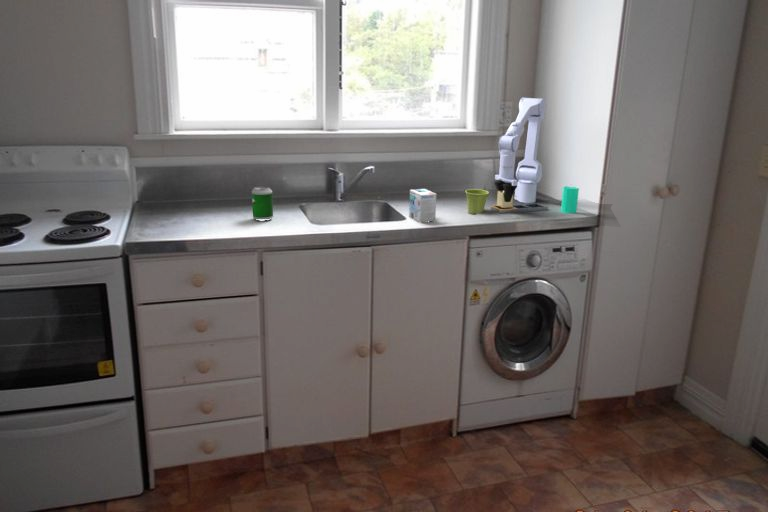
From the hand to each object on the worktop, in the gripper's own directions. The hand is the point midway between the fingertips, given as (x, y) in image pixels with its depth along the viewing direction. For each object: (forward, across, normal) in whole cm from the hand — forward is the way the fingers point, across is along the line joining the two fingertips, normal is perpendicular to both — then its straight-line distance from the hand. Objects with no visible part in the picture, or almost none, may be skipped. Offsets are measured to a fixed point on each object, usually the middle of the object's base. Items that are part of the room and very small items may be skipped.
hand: (504, 200), depth 263 cm
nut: (+2, 0, 0) cm, 2 cm away
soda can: (+5, -15, -94) cm, 95 cm away
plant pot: (+5, -3, -11) cm, 13 cm away
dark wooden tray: (+5, 0, +7) cm, 9 cm away
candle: (+5, +8, +25) cm, 27 cm away
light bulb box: (+5, +1, -36) cm, 36 cm away
